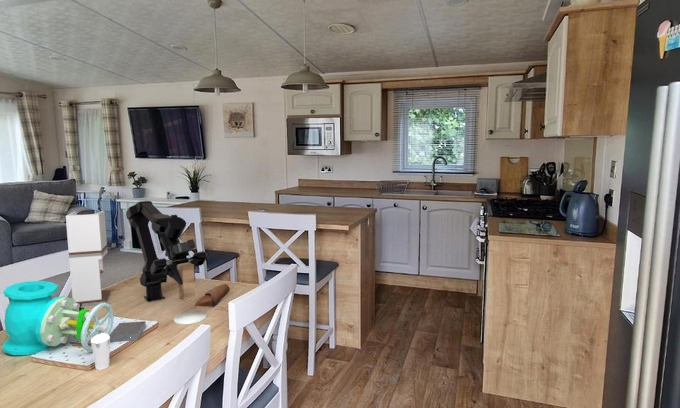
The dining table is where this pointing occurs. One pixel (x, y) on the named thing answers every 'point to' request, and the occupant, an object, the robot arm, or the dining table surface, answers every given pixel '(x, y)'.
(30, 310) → the valve
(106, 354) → the milkshake
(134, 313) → the dining table surface
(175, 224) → the robot arm
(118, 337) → the metal stand
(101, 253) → the tall white block
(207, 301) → the sunglasses case
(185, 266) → the walnut post
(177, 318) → the ceramic coaster
